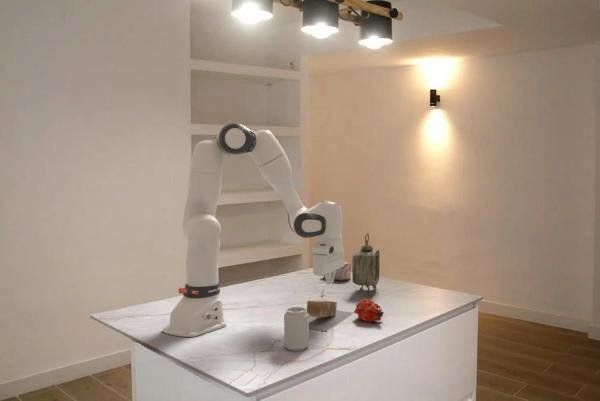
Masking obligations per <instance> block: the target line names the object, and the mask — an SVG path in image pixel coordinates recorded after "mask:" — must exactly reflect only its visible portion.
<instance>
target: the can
mask: <svg viewBox="0 0 600 401" xmlns="http://www.w3.org/2000/svg"><path fill="white" fill-rule="evenodd" d="M283 331H284V332H283V335H284V336H283V337H284V339H283V340H284V342H283V345H284V346H285V347H286V349H287V350H288V351H293V352H301V351H303V350H306V349H307V348H308V347H309V345H310V332H309V331H310V330H309V314H308V313H307V308H305V307H300V306H299V307H298V306H295V307H293V306H292V307H289V308H286V309H285V313H284V314H283Z"/></svg>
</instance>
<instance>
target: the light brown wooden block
mask: <svg viewBox="0 0 600 401" xmlns="http://www.w3.org/2000/svg"><path fill="white" fill-rule="evenodd" d="M337 306H338V301H335V300H326V299H321V300H320V299H319V300H318V299H317V300H307V305H306V310H307V311H306V312H307V313H308V314H309V316H313V317H328V316H336V310H337V308H338V307H337Z"/></svg>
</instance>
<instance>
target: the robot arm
mask: <svg viewBox="0 0 600 401" xmlns="http://www.w3.org/2000/svg"><path fill="white" fill-rule="evenodd" d="M242 154H248V155H249V157H251V158H252V159H253V161H254V164H255V166H256V167H257V169H258V171H259V173H260V175H262V177H263V178H264V180H265V181H266V182H267V184H268V185H270V186H271V187H272V189H274V191H276V193H277V195H278V197H279V198H280V201H281V202H282V204H283V206H284V208H285V210H286V212H287V217H288V218H287V220H288V222H287V223H288V226H289V228H290V230H291V231H292V232H293V233H295V234H296V235H297V236H299V237H301V238H304V239H309V238H313V237H317V241H316V243H315V244H314V245H313V246H312V248H311V253H312V254H313V255H312V273H313V275H314V276H317V277H324V276H325V277H324V278H325V284H326V285H330V284H333V283H334V276H335V270H337V269H339V268H341V267H344V265H345V262H346V256H345V254H346V253H345V249H344V247H343V235H342V229H343V212H342V208H341V206H340V205H339V203H337V202H336V201H335V202H334V201H330V200H321V201H319V202H318V203H317V204H315V205H313V206H311V207H310V208H307V207H306V206H305V205H304V204H303V202H302V200H301V199H300V197H299V194H298V192H297V190H296V189H295V187H294V184H293V182H292V181H293V178H292V175H293V174H292V173H293V168H292V166H291V163H290V160H289V158H288V156H287V153H286V151H285V150H284V148H283V147H282V145H281V144H280V141H278V139H277V138H276V137H275V135H274V134H273V132H272V131H270V130H268V129H260V130H257V131H253V130H251V129H249V128H248V127H247V126H245V125H244V124H241V123H238V122H231V123H227V124H224V125H223V126H222V127H221V128H220V129H219V131H218V132H217V134H216V136H215V137H214V139H212V140H211V139H207V140H206V139H205V140H201V141H199V142H197V143H196V144H195V146H194V148H193V152H192V156H191V160H190V161H191V162H190V166H189V179H188V188H187V190H188V191H187V196H186V202H185V205H184V212H183V219H182V226H181V227H182V232H183V234H184V235H185V237H186V238H187V252H186V253H187V254H186V260H185V272H186V273H185V276H186V277H185V278H186V282H185V285H184V287H179V288H177V292H178V294H182V295H183V296H182V298H181V299H179V301H178V303H177V304H176V306H175V307H174V308H173V309H172V310H171V311H170V315H169V324H167V325H166V326H164V327H163V328H162V332H163V333H165V334H167V335H172V336H176V337H185V338H186V337H190V338H192V337H198V336H200V335H204V334H206V333H209V332H214V331H215V330H219V329H221V328H224V327H227V322H226V321H225V318H224V311H223V310H224V308H223V303H222V300H221V297H220V293H221V284H220V281H219V255H220V248H221V237H222V226H221V224H220V222H219V220H218V219H217V218H216V212H217V207H218V204H219V200H220V199H221V194H222V193H221V191H222V183H223V182H222V181H223V169H224V162H225V159H226V158H227V157H230V156H239V155H242Z"/></svg>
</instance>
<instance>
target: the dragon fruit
mask: <svg viewBox="0 0 600 401" xmlns="http://www.w3.org/2000/svg"><path fill="white" fill-rule="evenodd" d="M355 306H356V308H355V310H354V311H353V314H356V315H357V318H358V320H359V322H362V321H364V322H366V323H367V324H369V323H370V324H376V323H375V322H377V321H378V322H381V320H382V318H383V317H384V316H383V315H384V311H383V309H382V308H381V306H380V305H378V304H377V303H375V302H374V301H373V300H372V299H368V298H364V299H361V300H360V301H359V302H358V303H357V304H356V305H355Z"/></svg>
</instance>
